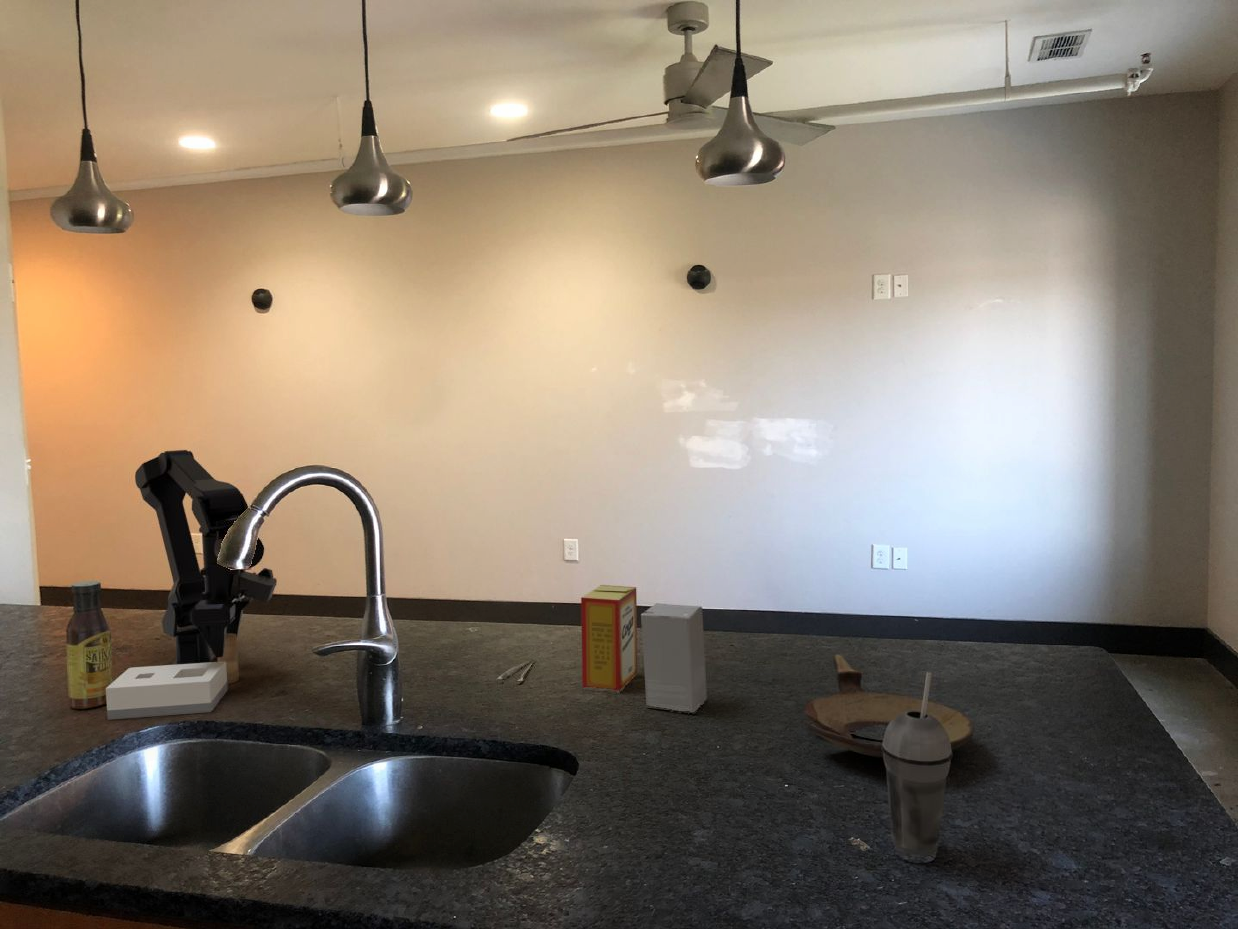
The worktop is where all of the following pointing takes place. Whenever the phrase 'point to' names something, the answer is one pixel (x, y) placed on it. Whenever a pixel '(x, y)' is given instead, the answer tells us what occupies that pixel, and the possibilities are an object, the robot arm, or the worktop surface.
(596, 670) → the baking soda box
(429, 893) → the worktop surface
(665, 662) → the skincare box
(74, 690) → the sauce bottle
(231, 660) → the oak peg
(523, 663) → the tweezers
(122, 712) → the hole block
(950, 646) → the worktop surface
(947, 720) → the oil lamp
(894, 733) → the beverage cup
